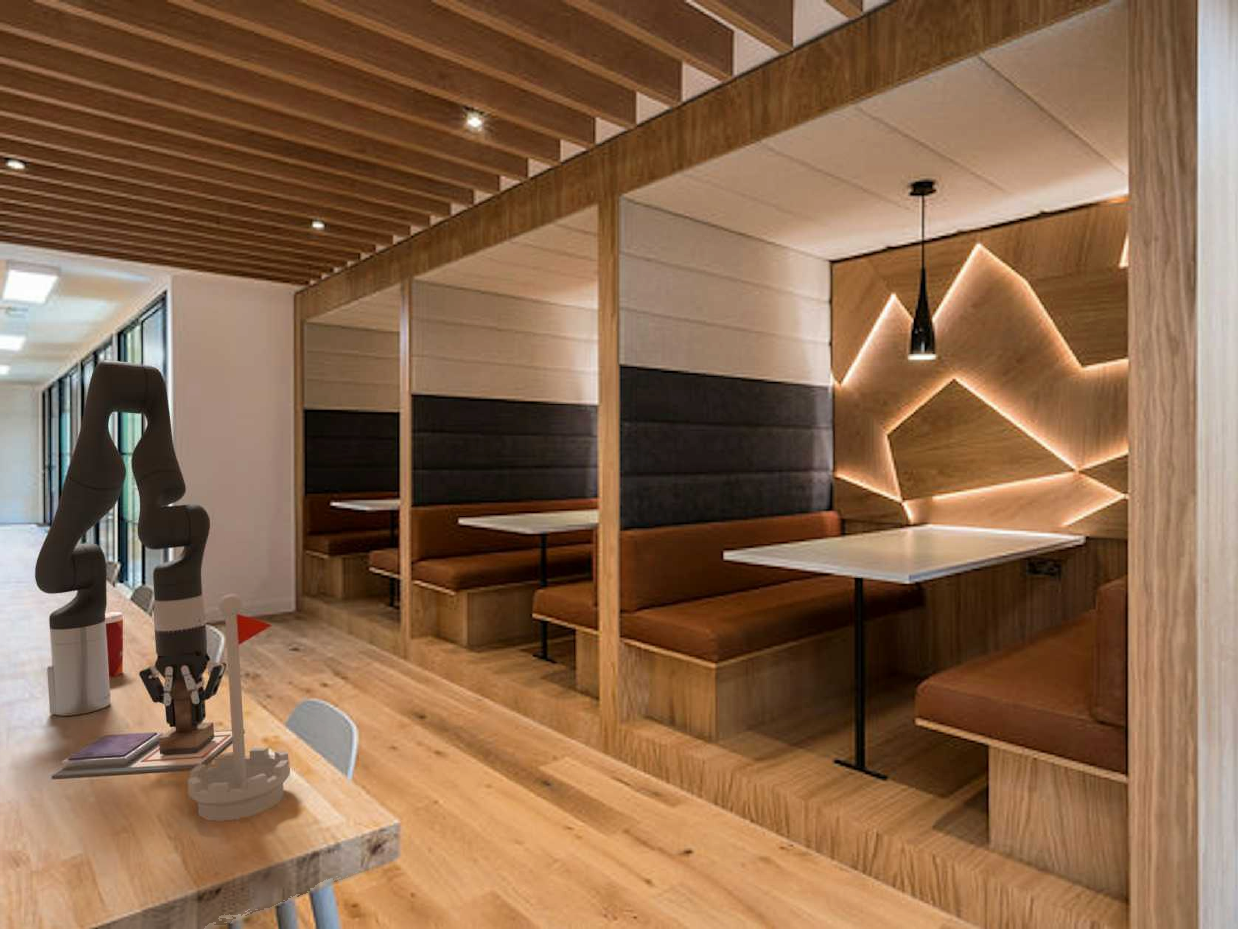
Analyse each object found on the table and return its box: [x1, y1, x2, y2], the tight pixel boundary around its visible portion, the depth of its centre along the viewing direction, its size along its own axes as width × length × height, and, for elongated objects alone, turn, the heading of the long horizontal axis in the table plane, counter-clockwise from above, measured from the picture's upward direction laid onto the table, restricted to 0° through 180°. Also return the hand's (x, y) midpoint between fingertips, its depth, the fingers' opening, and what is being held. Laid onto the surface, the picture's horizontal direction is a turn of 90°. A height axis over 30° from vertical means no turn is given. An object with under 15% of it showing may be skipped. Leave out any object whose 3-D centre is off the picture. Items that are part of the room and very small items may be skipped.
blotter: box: [51, 729, 233, 779], centre depth 130 cm, size 23×16×1 cm
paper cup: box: [105, 611, 125, 678], centre depth 180 cm, size 8×8×14 cm
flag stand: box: [187, 593, 291, 822], centre depth 110 cm, size 13×13×30 cm
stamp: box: [159, 679, 215, 754], centre depth 130 cm, size 6×6×12 cm
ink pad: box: [61, 731, 163, 770], centre depth 130 cm, size 10×11×2 cm
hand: (186, 724), depth 130 cm, fingers closed on stamp, 3 cm apart
